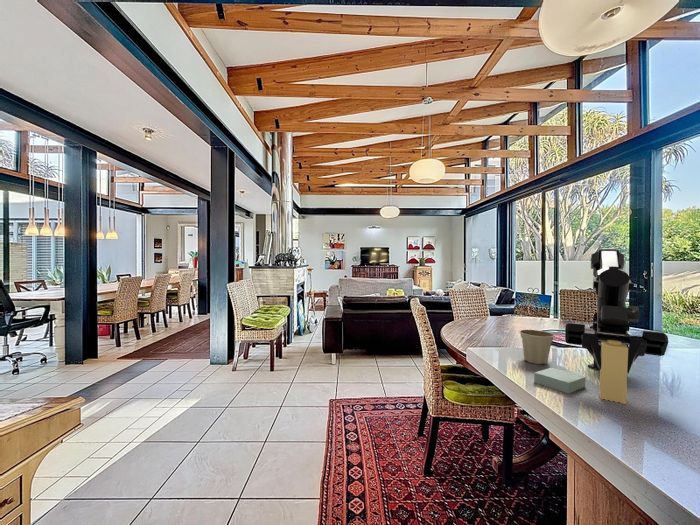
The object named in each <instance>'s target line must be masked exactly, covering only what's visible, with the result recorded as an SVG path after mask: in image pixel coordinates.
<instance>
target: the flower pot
mask: <svg viewBox="0 0 700 525" xmlns="http://www.w3.org/2000/svg"><path fill="white" fill-rule="evenodd" d="M518 332H519V334H520V338H521V340H522V341H521V342H522V351H523V359H524V361H527V363H530V364H534V365H535V364H536V365H542V364H543V365H546V364H548V362H549V361H548V360H549V357H550V352H551V348H552V347H551V346H552V342H553V341H554V338H555V336H556V335H555V333H553V332H550V331H549V332H548V331H543V330H537V329H520V330H519V331H518Z"/></svg>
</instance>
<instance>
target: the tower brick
mask: <svg viewBox="0 0 700 525" xmlns="http://www.w3.org/2000/svg"><path fill="white" fill-rule="evenodd" d="M627 367H628V347H627V345H626V344H621V342H620V341H617V340H608V341H607V342H604V341H601V369H600V370H599V386H598V387H599V388H598V389H599V390H598V393H599V399H600V400H603V399H605V400H604V401H608V400H610V401H609V402H613V401H615V402H614V403H618V402H620V403H619V404H624V405H627V392H628V391H627V388H628V373H627Z"/></svg>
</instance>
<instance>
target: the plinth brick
mask: <svg viewBox="0 0 700 525" xmlns="http://www.w3.org/2000/svg"><path fill="white" fill-rule="evenodd" d="M533 376H534V377H533V378H534V381H533V382H534V383H535V384H537V385H540V384H541V385H540V386H543V385H544V387H546V388H550V389H552V390H556V391H560V392H563V393H566V394H568V395H569V394H571V393H574V392H576V390H577V391H579V390H581V389H580V388H582V389H584V388H583V387H585V388H586V376H584V375H580V374H576V373H573V372H569V371H565V370H561V369H558V368H555V367H549V368H545V369H542V370H539V371H535V372H534V374H533ZM578 389H579V390H578Z"/></svg>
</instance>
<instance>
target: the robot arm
mask: <svg viewBox="0 0 700 525" xmlns="http://www.w3.org/2000/svg"><path fill="white" fill-rule="evenodd" d="M591 269H592V276H593V278H592V291H595V295H597V298H596V301H597V302H596V304H597V307H596V312H595V313H594V314H593V317H592V324H590V325H589V327H586V324H585V323H577V322H567V323H565V329H564V330H565V332H564V333H565V334H564V335H565V338H564V342H565V343H566V344H568V345H575V346H581V348H583V349H585V350H587V351H588V352H589V354H590V355H591V357H592V359H593V363H591V364H587V368H591V369H595V370H599V371H600V369H601V341H604V342H607V341H608V340H617V341H620V342H621V344H626V345H627V347H628V367H627V375H629V374H630V372H631V369H632V367H633V364H634V363H635V361H636V360H637V358H639V357H644V356H646V355H649V356H656V357H662V356H665V355H666V354H665V353H666V351H667V348H668V346H669V337H668V335H667V334H666V333H665V332H664V331H655V330H645V329H644V330H643V331H642V336H639V335H633V334H632V335H631V334H629V331H630V327H631V326H630V323H631V322H632V323H638V322H639V320H640V309H639V307H640V306H635V305H634V306H633V305H628V306H627V305H626V300H627V298H628V295H629V294H628V293H630V292H631V291H632V289H635V283H633V282H632V280H631V276H630V275H629V274H628V273H627V272H625V271H624V269H625V254H624V253H622V252H620V250H619V248H616V247H607V248H606V247H601V248H598V251H596V252H594V253H591V254H590V270H591Z"/></svg>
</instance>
